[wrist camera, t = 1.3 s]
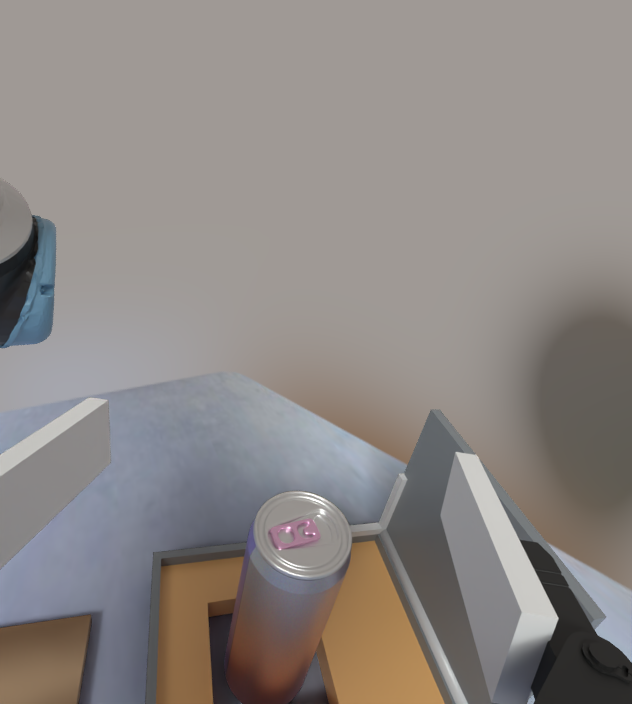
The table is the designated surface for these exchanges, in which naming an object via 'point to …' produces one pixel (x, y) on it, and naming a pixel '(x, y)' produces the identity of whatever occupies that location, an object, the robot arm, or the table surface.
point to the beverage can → (285, 595)
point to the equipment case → (353, 600)
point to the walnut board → (44, 661)
